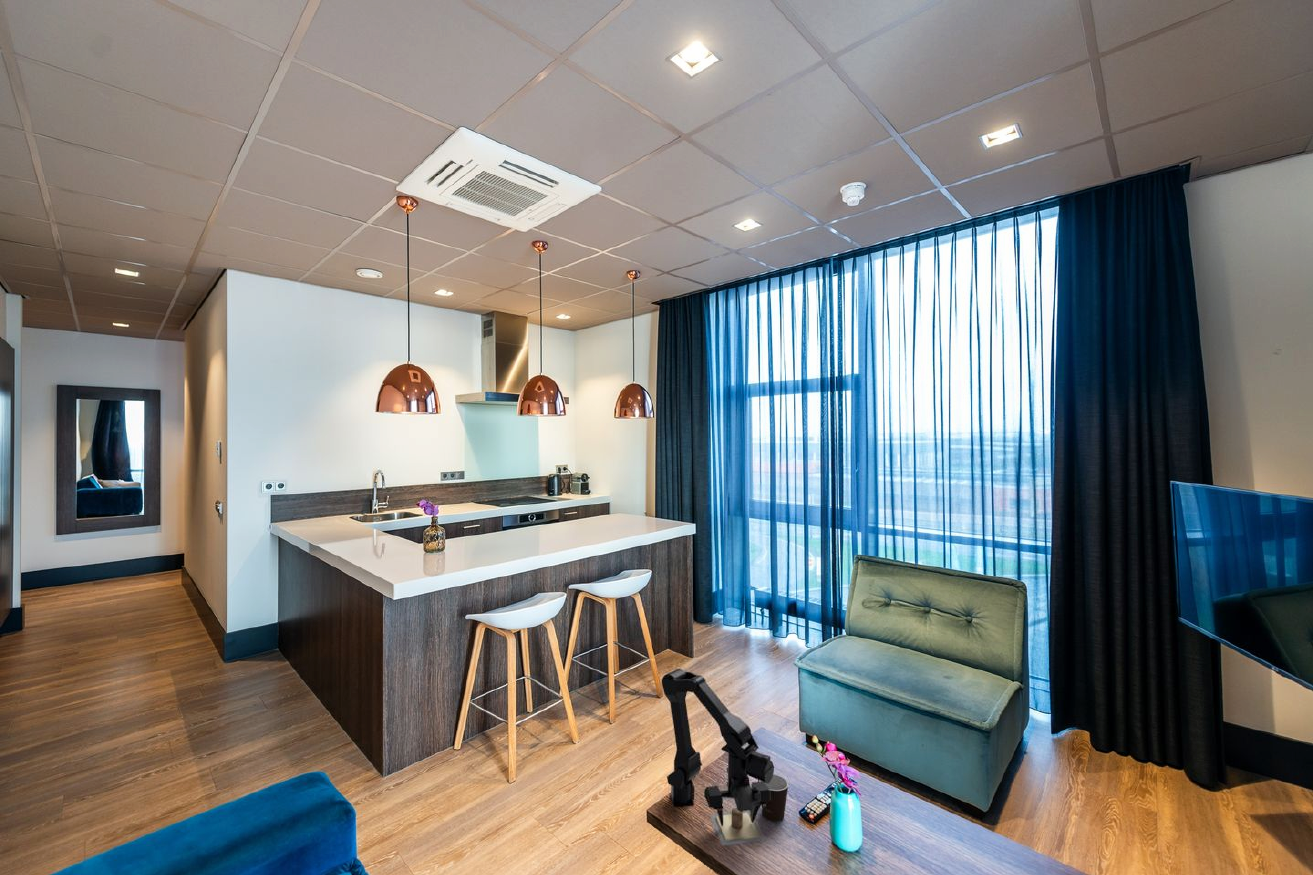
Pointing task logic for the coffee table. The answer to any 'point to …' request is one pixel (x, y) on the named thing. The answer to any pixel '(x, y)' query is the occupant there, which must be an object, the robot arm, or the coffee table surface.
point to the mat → (724, 842)
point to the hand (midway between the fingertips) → (737, 823)
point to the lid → (737, 826)
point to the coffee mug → (776, 799)
